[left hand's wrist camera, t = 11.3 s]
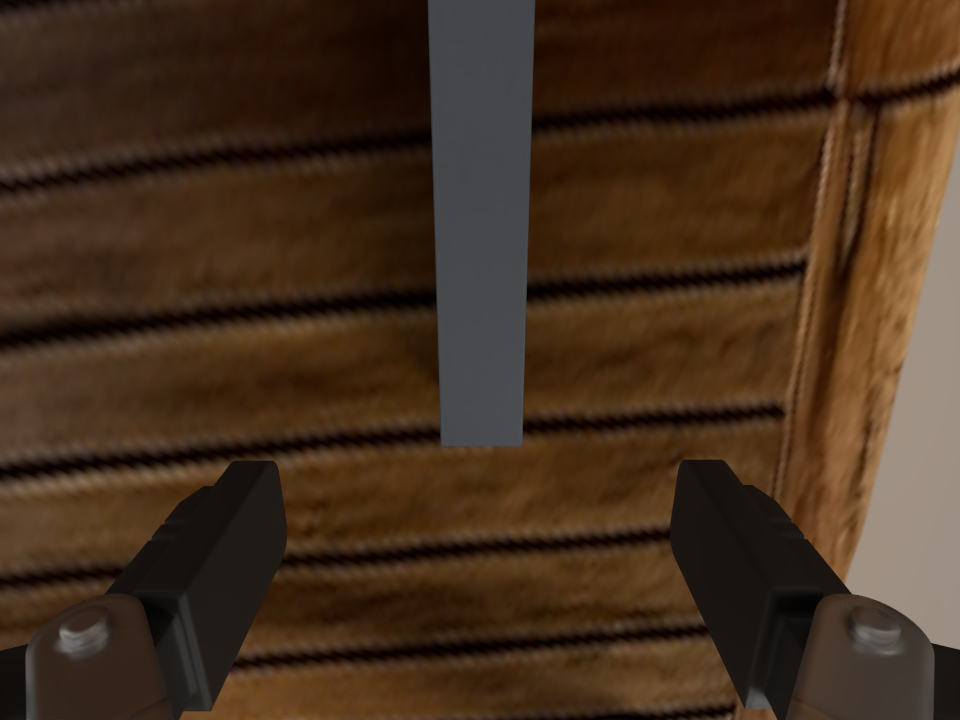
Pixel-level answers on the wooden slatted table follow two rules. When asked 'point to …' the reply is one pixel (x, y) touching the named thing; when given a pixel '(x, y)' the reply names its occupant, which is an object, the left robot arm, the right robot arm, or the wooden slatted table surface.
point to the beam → (481, 212)
